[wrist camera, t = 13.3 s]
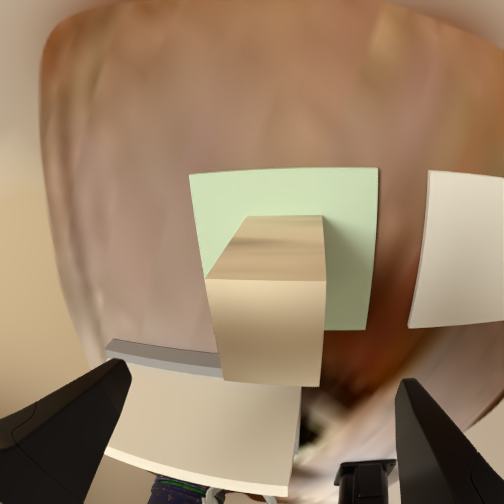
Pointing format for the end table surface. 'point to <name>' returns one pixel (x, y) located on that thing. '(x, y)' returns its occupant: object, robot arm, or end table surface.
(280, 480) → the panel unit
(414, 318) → the cream mat
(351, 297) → the sage mat
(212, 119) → the end table surface
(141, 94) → the end table surface
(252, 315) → the block
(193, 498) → the storage jar
